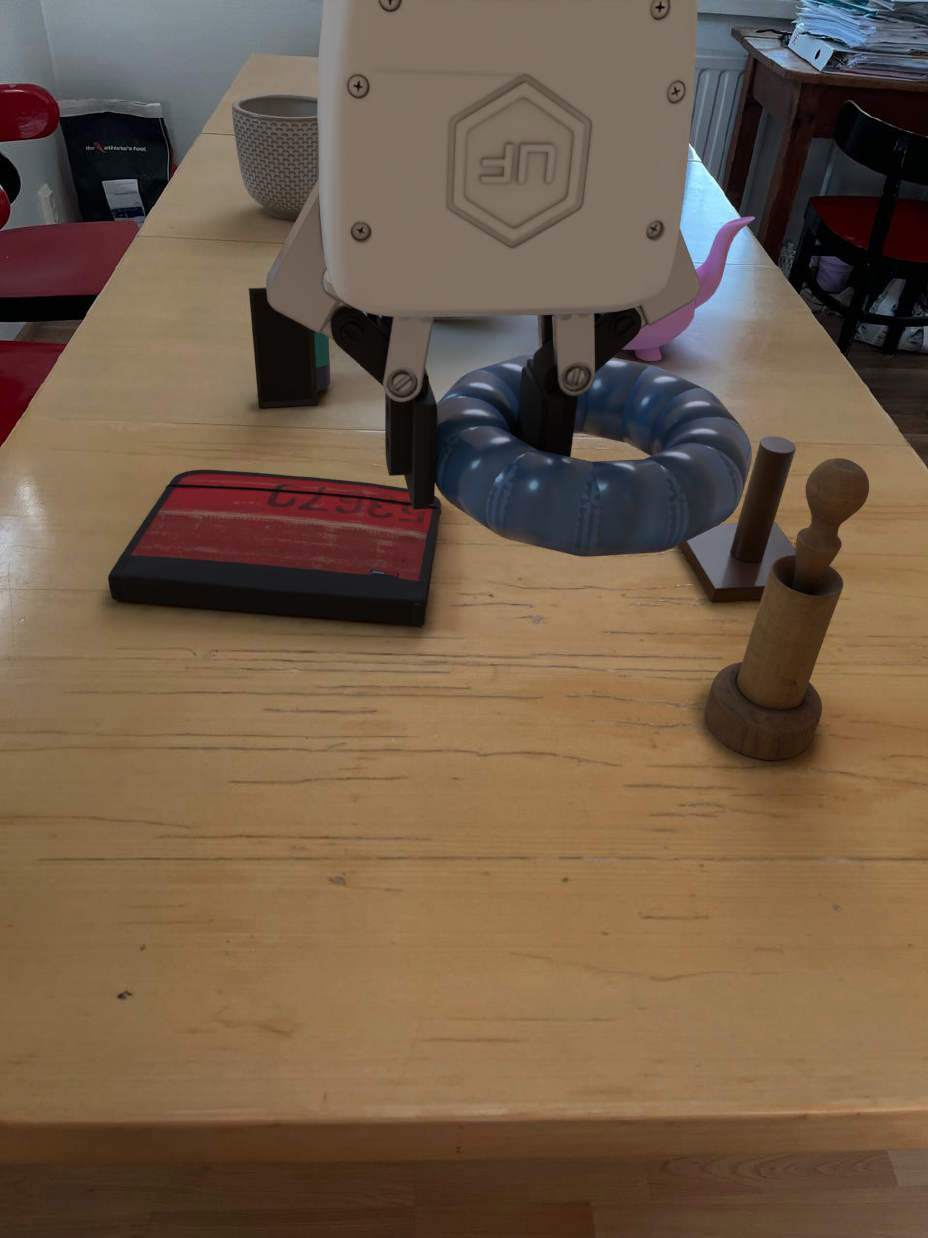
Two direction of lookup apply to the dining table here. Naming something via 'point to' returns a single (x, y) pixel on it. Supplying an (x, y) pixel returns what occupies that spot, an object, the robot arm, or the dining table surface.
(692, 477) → the blue ring
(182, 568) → the ink pad
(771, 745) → the mortar and pestle
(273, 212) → the planter
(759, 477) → the stand
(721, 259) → the teapot
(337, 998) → the dining table surface
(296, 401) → the speaker
